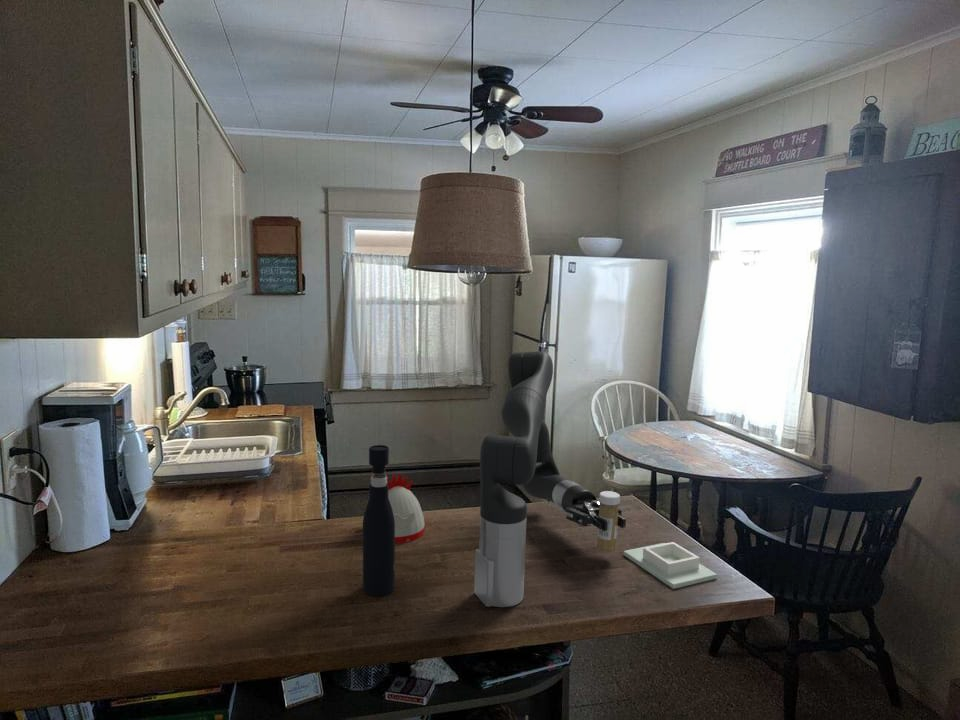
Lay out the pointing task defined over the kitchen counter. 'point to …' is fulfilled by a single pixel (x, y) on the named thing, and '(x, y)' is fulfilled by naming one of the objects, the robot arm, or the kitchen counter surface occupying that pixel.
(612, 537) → the spice jar
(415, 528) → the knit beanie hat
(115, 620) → the kitchen counter surface
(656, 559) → the socket board
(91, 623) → the kitchen counter surface
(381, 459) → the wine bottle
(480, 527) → the robot arm
